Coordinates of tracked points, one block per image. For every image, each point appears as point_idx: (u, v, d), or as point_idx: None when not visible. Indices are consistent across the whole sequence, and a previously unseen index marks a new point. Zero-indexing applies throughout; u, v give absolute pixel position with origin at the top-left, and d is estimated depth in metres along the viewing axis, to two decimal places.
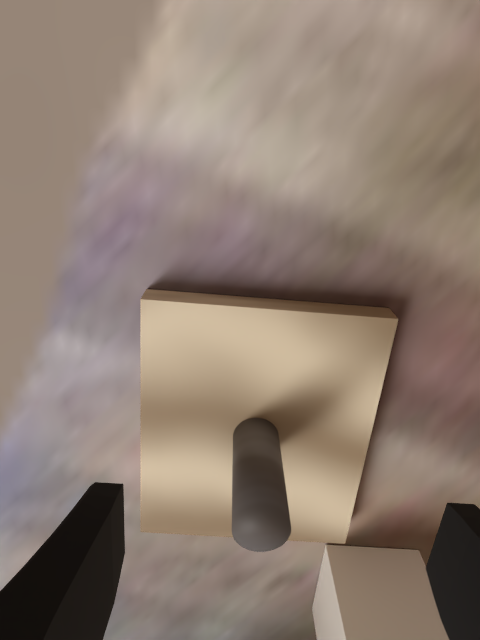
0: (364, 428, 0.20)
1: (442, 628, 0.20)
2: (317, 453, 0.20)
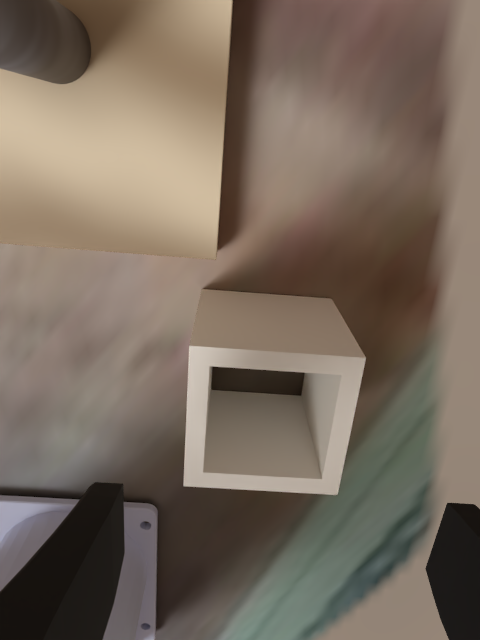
0: (218, 27, 0.13)
1: (343, 343, 0.14)
2: (154, 81, 0.14)
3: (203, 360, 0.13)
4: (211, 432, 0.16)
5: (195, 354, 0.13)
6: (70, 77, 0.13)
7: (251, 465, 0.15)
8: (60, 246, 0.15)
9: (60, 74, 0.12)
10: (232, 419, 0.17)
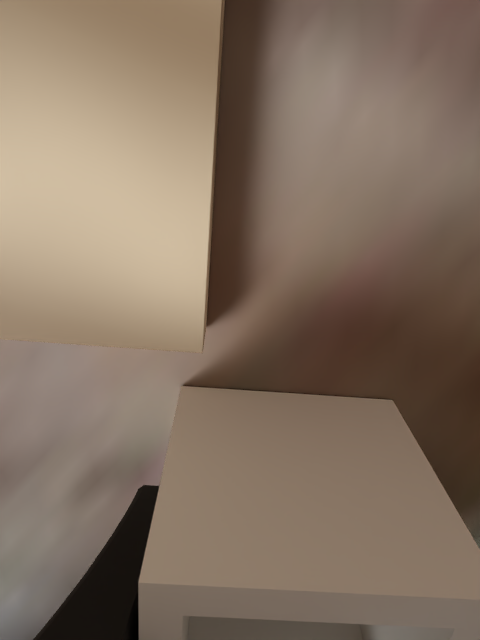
0: None
1: (448, 546, 0.07)
2: (76, 27, 0.07)
3: (169, 606, 0.06)
4: None
5: (153, 596, 0.06)
6: None
7: None
8: None
9: None
10: None
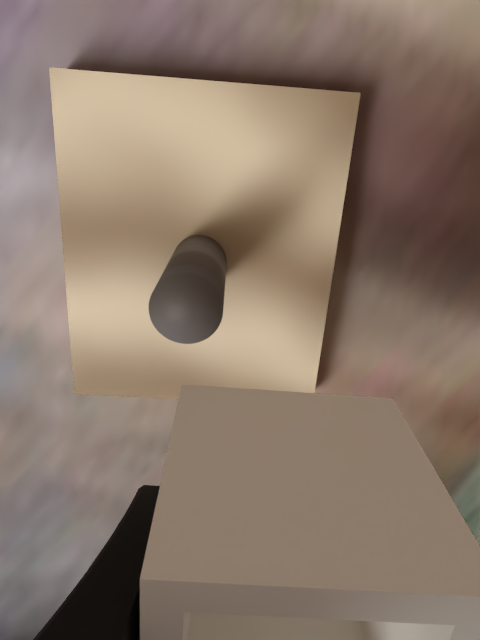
0: (327, 248, 0.17)
1: (448, 543, 0.07)
2: (274, 284, 0.17)
3: (170, 603, 0.06)
4: (196, 637, 0.10)
5: (154, 593, 0.06)
6: None
7: None
8: None
9: None
10: None
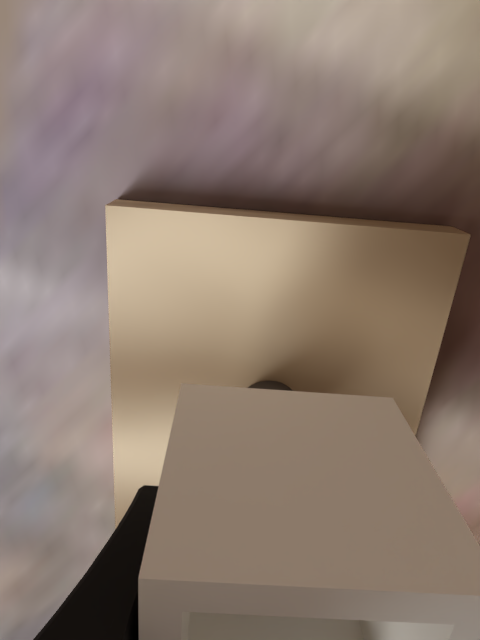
0: (415, 395, 0.14)
1: (448, 542, 0.07)
2: None
3: (169, 603, 0.06)
4: (195, 637, 0.10)
5: (153, 592, 0.06)
6: None
7: None
8: None
9: None
10: None
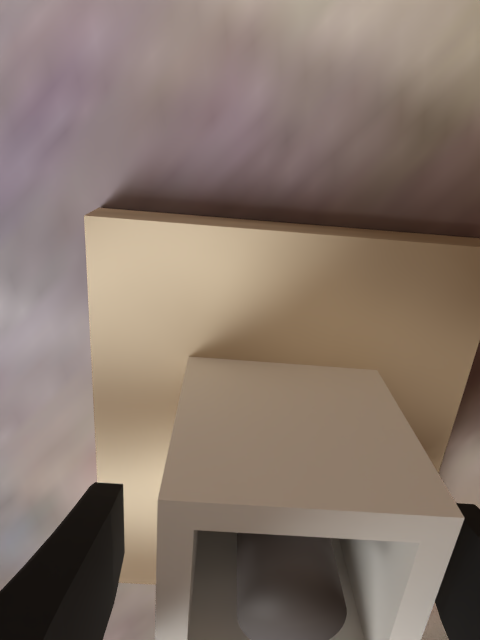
0: (439, 428, 0.13)
1: (417, 479, 0.08)
2: None
3: (182, 521, 0.07)
4: (201, 578, 0.11)
5: (169, 513, 0.07)
6: None
7: None
8: None
9: None
10: (232, 549, 0.12)
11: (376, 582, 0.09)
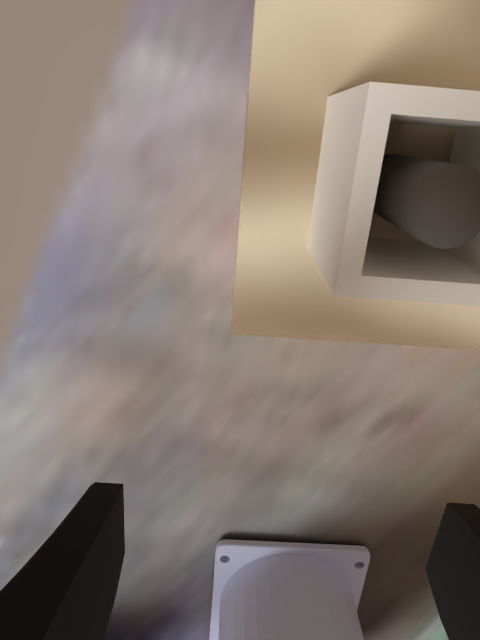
0: None
1: None
2: None
3: (384, 104, 0.10)
4: None
5: (376, 95, 0.10)
6: None
7: (414, 274, 0.12)
8: (351, 340, 0.18)
9: None
10: (366, 250, 0.14)
11: None
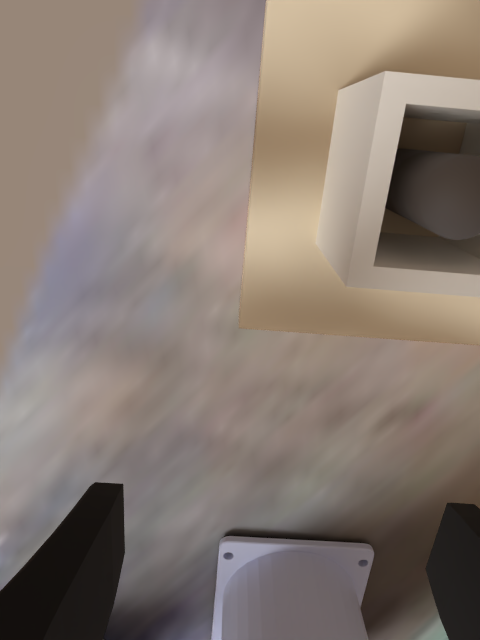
0: None
1: None
2: None
3: (399, 94, 0.10)
4: None
5: (391, 84, 0.10)
6: None
7: (425, 266, 0.12)
8: (358, 335, 0.18)
9: None
10: None
11: None
